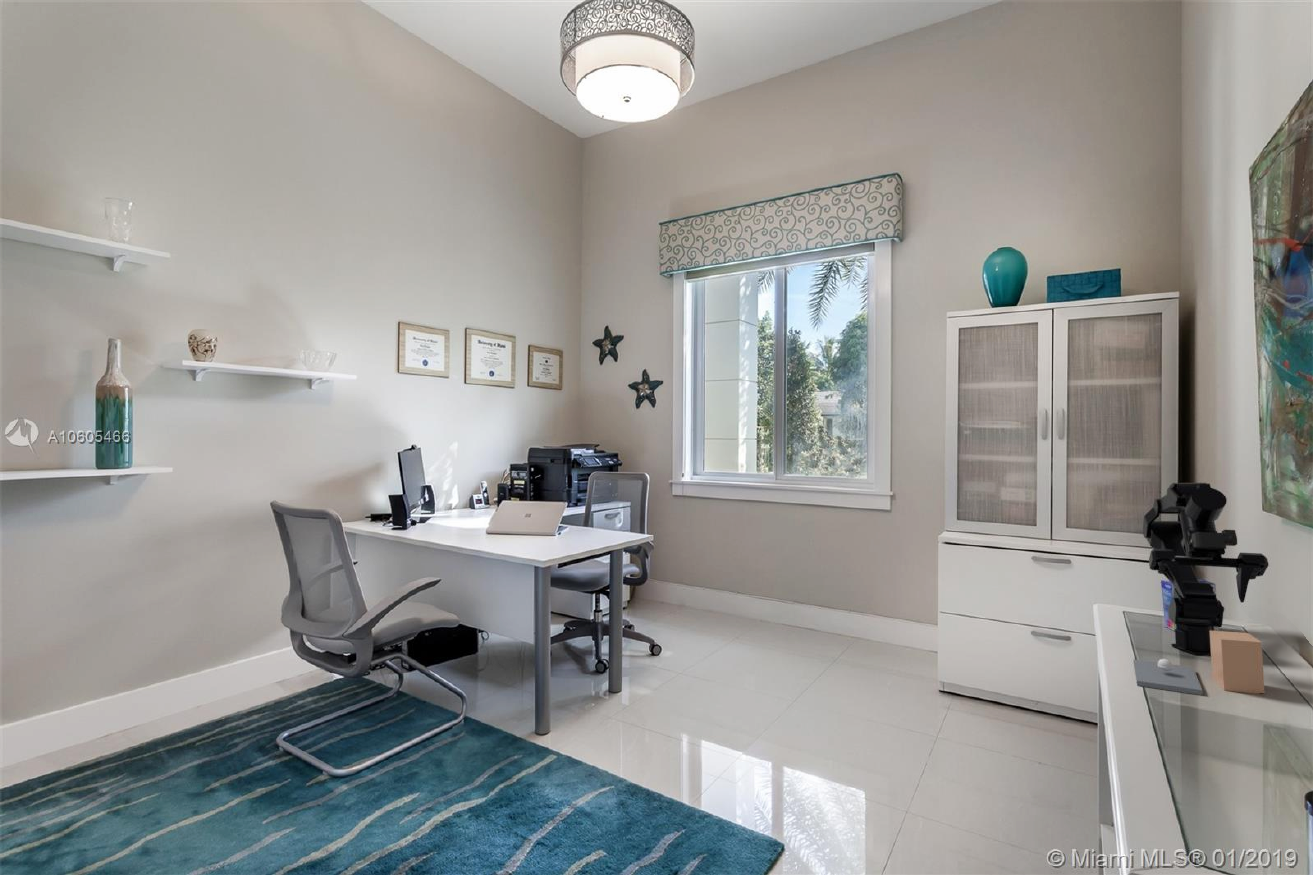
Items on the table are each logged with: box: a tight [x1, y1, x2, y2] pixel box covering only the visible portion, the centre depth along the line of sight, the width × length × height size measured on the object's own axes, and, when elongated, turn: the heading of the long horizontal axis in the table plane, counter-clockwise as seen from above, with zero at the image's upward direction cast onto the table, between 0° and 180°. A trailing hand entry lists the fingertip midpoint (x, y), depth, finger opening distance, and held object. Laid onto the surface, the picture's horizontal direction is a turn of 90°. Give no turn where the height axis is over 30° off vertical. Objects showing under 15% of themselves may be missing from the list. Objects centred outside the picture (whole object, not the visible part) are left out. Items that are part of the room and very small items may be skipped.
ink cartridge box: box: [1160, 579, 1220, 632], centre depth 157 cm, size 10×6×14 cm, turn 78°
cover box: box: [1210, 630, 1265, 695], centre depth 122 cm, size 6×6×10 cm
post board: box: [1133, 658, 1203, 696], centre depth 128 cm, size 14×10×4 cm
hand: (1212, 599), depth 128 cm, fingers open, 9 cm apart
